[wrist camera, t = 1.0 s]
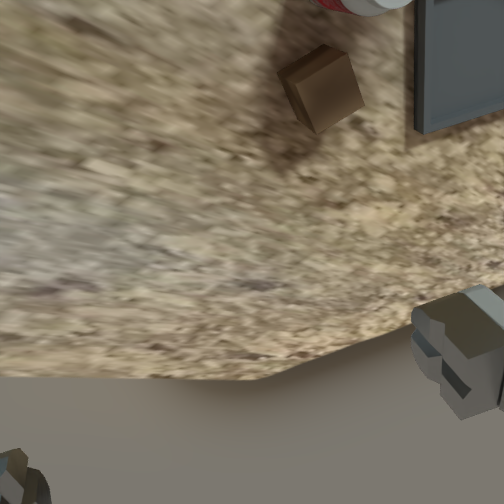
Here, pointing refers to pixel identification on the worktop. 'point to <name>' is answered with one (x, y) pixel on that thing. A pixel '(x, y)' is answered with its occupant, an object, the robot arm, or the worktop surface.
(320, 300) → the worktop surface
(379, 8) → the pill bottle
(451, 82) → the tray
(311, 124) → the walnut cube
